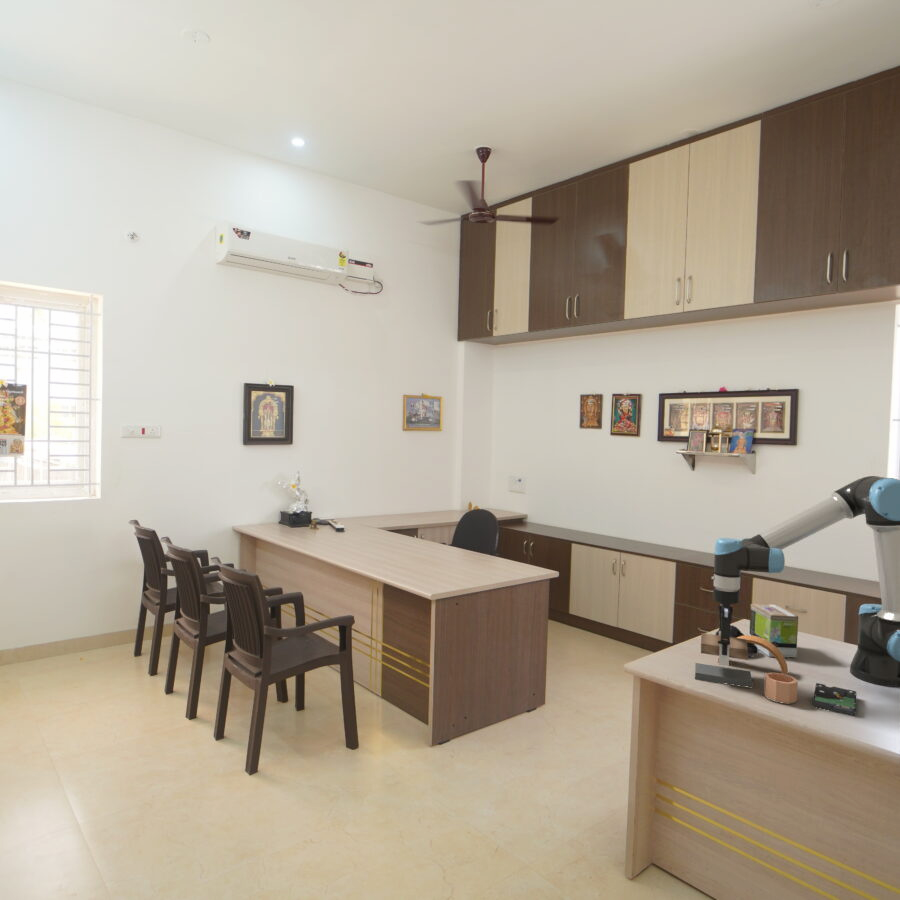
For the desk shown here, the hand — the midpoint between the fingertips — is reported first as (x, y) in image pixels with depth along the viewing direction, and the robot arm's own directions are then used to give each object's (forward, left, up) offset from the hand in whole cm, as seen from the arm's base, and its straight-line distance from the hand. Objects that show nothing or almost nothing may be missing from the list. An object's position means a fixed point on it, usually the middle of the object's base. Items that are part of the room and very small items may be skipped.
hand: (723, 658), depth 195 cm
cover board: (0, 0, +2) cm, 2 cm away
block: (0, 0, -6) cm, 6 cm away
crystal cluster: (-5, -29, -7) cm, 30 cm away
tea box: (-17, -36, -7) cm, 40 cm away
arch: (-9, -14, -7) cm, 18 cm away
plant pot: (-15, +9, -6) cm, 19 cm away
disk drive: (-29, +5, -7) cm, 31 cm away
